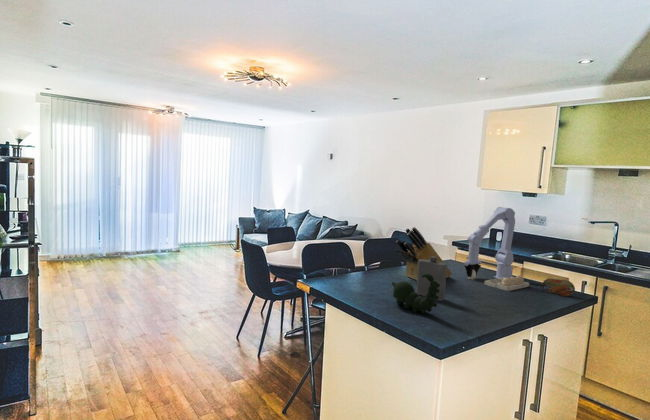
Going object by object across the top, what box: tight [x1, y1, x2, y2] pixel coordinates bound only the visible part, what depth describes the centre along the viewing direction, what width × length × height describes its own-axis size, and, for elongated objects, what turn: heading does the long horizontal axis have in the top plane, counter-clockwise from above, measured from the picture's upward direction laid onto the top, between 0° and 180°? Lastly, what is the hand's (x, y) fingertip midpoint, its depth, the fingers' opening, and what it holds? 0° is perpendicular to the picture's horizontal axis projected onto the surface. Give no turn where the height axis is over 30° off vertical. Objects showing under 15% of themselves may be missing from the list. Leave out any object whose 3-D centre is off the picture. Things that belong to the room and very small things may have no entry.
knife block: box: [395, 226, 453, 281], centre depth 229 cm, size 11×35×31 cm, turn 115°
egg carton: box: [483, 277, 530, 292], centre depth 221 cm, size 21×14×3 cm
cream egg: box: [467, 270, 477, 281], centre depth 235 cm, size 4×4×6 cm
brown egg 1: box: [502, 278, 511, 287], centre depth 214 cm, size 4×4×6 cm
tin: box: [542, 277, 576, 297], centre depth 209 cm, size 15×3×8 cm, turn 62°
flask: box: [415, 256, 448, 302], centre depth 192 cm, size 15×6×20 cm, turn 45°
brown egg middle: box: [509, 276, 517, 285], centre depth 218 cm, size 4×4×6 cm
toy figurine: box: [391, 273, 440, 314], centre depth 172 cm, size 9×19×25 cm
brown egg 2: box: [515, 275, 525, 284], centre depth 222 cm, size 4×4×6 cm
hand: (471, 276), depth 235 cm, fingers closed on cream egg, 4 cm apart
